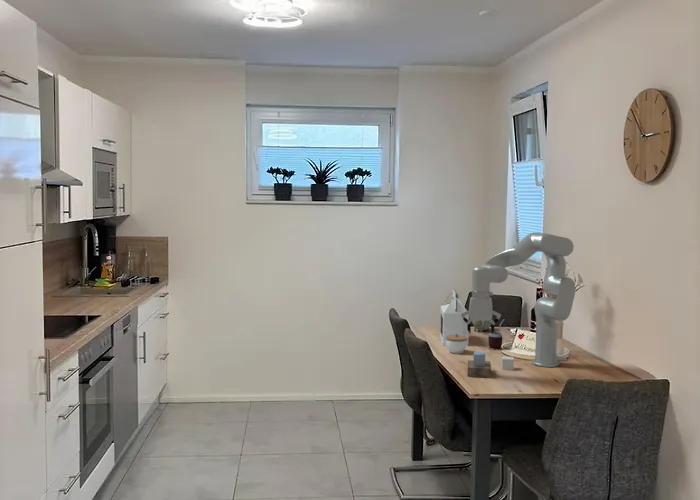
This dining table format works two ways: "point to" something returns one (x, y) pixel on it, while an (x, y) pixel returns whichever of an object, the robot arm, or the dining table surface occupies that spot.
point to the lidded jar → (456, 343)
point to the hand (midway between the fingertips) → (480, 332)
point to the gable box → (452, 318)
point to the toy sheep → (481, 325)
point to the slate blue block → (479, 358)
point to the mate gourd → (495, 339)
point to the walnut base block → (479, 370)
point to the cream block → (507, 363)
